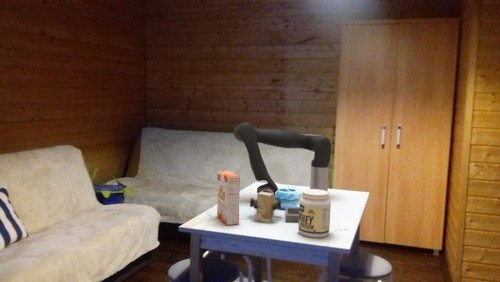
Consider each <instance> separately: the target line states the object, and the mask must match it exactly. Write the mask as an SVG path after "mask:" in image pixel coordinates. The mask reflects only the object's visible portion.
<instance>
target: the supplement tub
mask: <svg viewBox="0 0 500 282" xmlns="http://www.w3.org/2000/svg"><path fill="white" fill-rule="evenodd" d="M301 192H302V194H301V197H300V199H299V205H298V208H299V223H298V232H299V234H300V235H302V236H304V237H308V238H313V239H314V238H325V237H327V236H328V235H329V233H330V222H331V221H330V220H331V205H332V203H331V200H330V199H329V197H330V196H329V194H330V193H329V191H328V192H327V191H324V190H319V189H310V188H309V189H308V188H307V189H303V190H302V191H301Z"/></svg>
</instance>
